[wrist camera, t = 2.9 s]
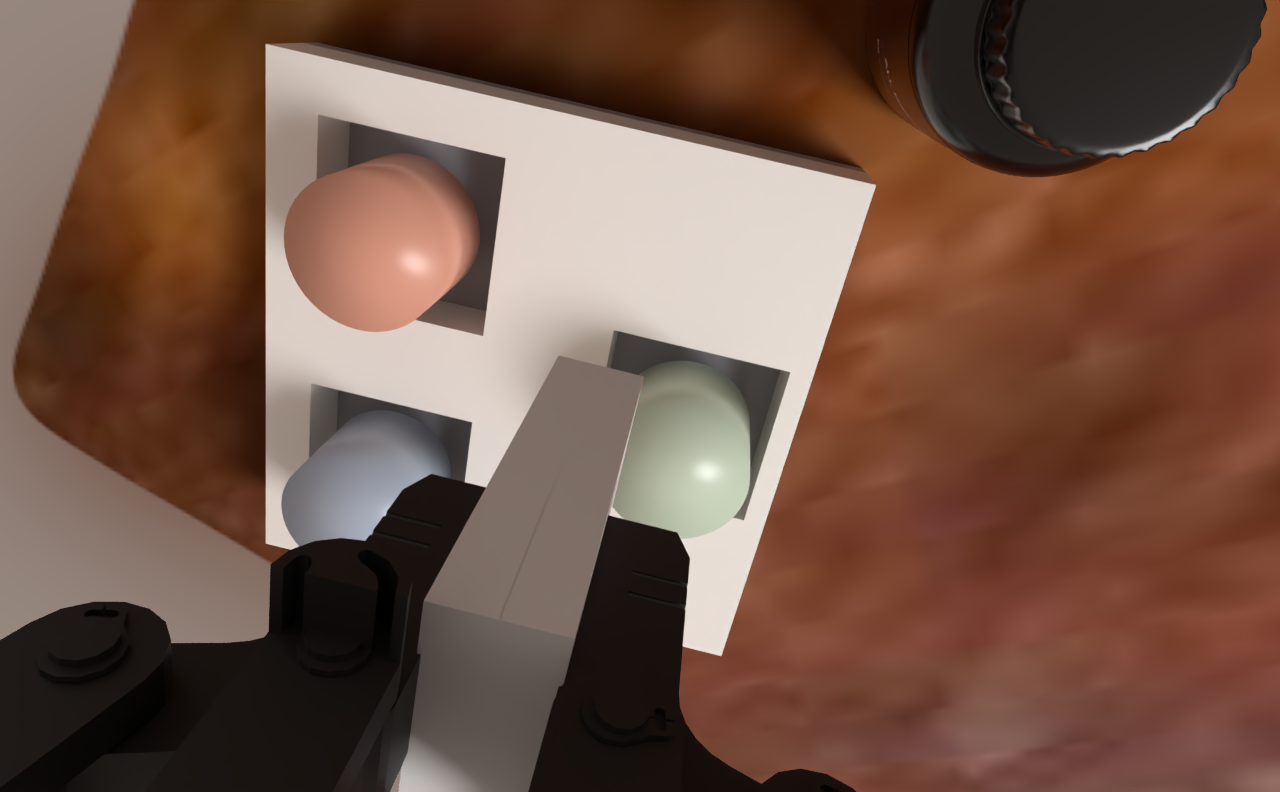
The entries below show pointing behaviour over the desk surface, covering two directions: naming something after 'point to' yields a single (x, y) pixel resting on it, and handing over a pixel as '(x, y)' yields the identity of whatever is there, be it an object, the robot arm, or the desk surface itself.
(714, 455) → the sage button
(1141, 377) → the desk surface
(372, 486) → the slate button
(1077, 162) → the supplement bottle
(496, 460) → the console
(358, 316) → the terracotta button
